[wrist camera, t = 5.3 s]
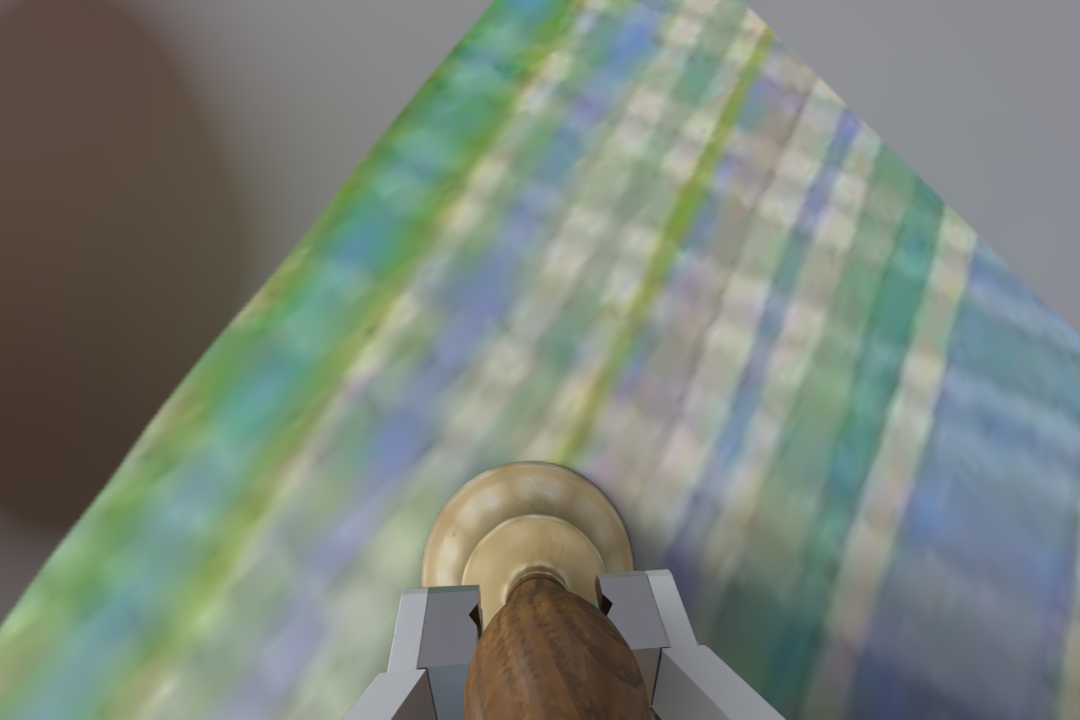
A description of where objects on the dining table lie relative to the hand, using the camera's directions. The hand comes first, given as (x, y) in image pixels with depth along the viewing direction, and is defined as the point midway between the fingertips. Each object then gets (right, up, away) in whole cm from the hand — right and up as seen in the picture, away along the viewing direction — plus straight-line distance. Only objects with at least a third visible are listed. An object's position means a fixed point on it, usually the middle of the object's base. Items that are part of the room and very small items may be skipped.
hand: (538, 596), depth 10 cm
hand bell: (0, -3, +10) cm, 10 cm away
